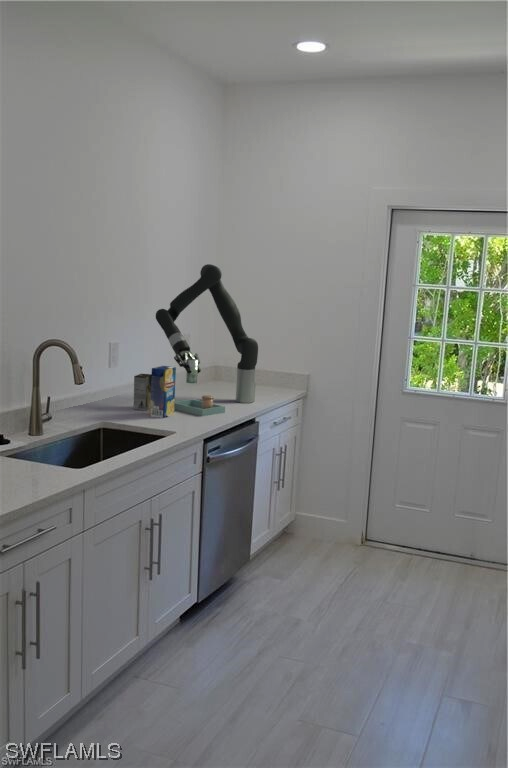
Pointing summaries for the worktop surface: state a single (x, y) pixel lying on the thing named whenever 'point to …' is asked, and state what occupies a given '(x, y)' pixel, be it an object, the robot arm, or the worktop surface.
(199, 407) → the tray
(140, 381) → the coffee box
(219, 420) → the worktop surface
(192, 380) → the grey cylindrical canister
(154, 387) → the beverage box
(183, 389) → the worktop surface
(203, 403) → the pestle
